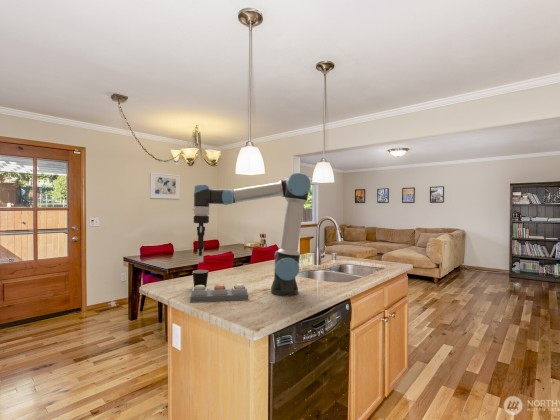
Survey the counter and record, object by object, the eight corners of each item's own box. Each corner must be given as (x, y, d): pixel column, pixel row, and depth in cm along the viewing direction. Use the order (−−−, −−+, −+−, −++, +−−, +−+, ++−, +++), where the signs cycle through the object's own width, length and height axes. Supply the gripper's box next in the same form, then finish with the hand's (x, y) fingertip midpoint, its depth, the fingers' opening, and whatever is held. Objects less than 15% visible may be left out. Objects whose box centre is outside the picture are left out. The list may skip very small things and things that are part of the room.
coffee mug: (203, 291, 169) (204, 273, 169) (189, 290, 171) (189, 272, 171) (212, 286, 180) (213, 269, 180) (199, 285, 182) (199, 268, 182)
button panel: (245, 293, 168) (245, 284, 168) (248, 299, 156) (248, 290, 156) (191, 295, 162) (192, 286, 162) (190, 302, 150) (190, 292, 150)
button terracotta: (224, 288, 162) (224, 284, 162) (224, 290, 157) (224, 286, 157) (214, 288, 161) (215, 284, 161) (215, 291, 156) (215, 286, 156)
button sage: (204, 288, 160) (204, 284, 160) (204, 291, 155) (204, 287, 155) (195, 289, 159) (195, 285, 159) (194, 291, 154) (194, 287, 154)
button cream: (243, 287, 164) (243, 283, 164) (244, 289, 160) (244, 285, 160) (234, 287, 163) (234, 283, 163) (235, 290, 158) (235, 286, 158)
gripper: (194, 214, 165) (193, 258, 165) (192, 215, 147) (191, 264, 147) (208, 215, 167) (208, 257, 167) (209, 215, 148) (207, 264, 148)
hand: (200, 260), depth 157 cm, fingers open, 6 cm apart
